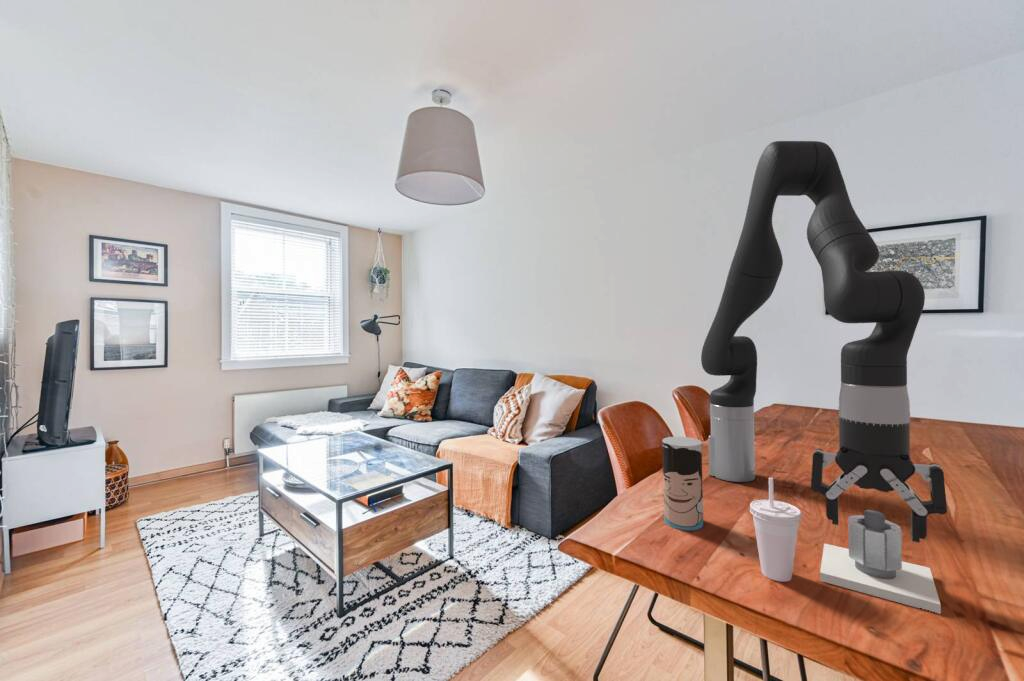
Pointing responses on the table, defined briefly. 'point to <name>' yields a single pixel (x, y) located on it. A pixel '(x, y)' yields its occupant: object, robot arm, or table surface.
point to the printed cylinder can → (682, 482)
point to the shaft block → (880, 574)
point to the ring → (875, 544)
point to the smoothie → (776, 535)
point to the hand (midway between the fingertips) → (873, 531)
